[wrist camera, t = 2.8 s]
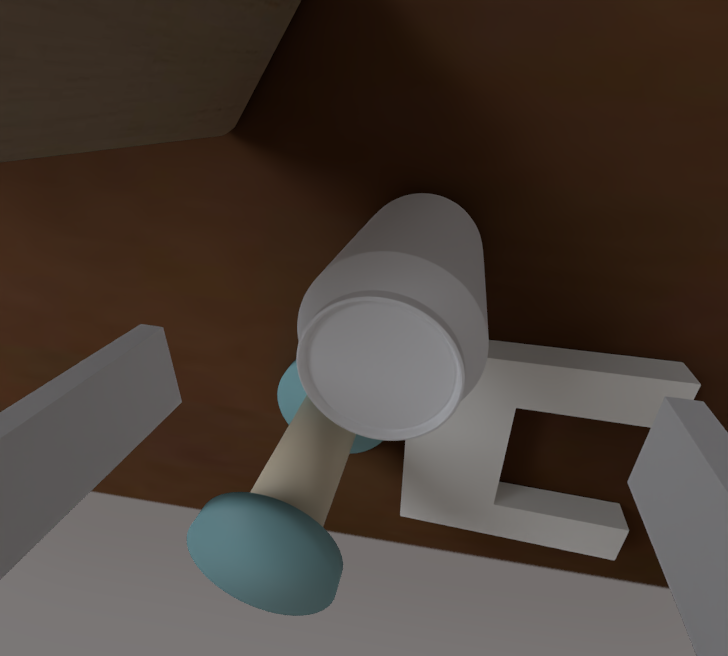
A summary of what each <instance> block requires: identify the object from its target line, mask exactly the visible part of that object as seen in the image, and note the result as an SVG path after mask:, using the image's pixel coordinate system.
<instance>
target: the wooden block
mask: <svg viewBox="0 0 728 656" xmlns="http://www.w3.org/2000/svg"><path fill="white" fill-rule="evenodd" d="M300 2H301V0H0V162H8V161H16V160H24V159H32V158H41V157H49V156H57V155H66V154H74V153H82V152H91V151H99V150H107V149H116V148H124V147H132V146H141V145H149V144H157V143H166V142H174V141H182V140H190V139H199V138H207V137H215V136H224V135H225V134H226V133H228V132H229V131H231V130H232V129H233V128H235V126H236V124H237V122H238V120H239V118H240V117H241V115H242V113H243V111H244V109H245V107H246V105H247V103H248V101H249V99H250V97H251V96H252V94H253V92H254V90H255V88H256V86H257V84H258V82H259V80H260V78H261V76H262V74H263V73H264V71H265V69H266V67H267V65H268V63H269V61H270V59H271V57H272V55H273V53H274V52H275V50H276V48H277V46H278V44H279V42H280V40H281V38H282V36H283V34H284V32H285V31H286V29H287V27H288V25H289V23H290V21H291V19H292V17H293V15H294V13H295V11H296V10H297V8H298V6H299V4H300Z"/></svg>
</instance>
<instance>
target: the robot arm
mask: <svg viewBox="0 0 728 656" xmlns="http://www.w3.org/2000/svg"><path fill="white" fill-rule="evenodd" d="M181 402H182V400H181V396H180V392H179V388H178V384H177V380H176V377H175V373H174V369H173V365H172V361H171V357H170V353H169V349H168V345H167V341H166V337H165V333H164V329H163V327H158V326H151V325H143V324H140V325H139V326H137V327H135V328H134V329H132V330H131V331H129V332H127V333H126V334H124V335H123V336H121V337H120V338H118V339H116V340H115V341H113V342H112V343H110V344H108V345H107V346H105V347H104V348H102V349H100V350H99V351H97V352H96V353H94V354H93V355H91V356H89V357H88V358H86V359H85V360H83V361H81V362H80V363H78V364H77V365H75V366H73V367H72V368H70V369H69V370H67V371H65V372H64V373H62V374H61V375H59V376H58V377H56V378H54V379H53V380H51V381H50V382H48V383H46V384H45V385H43V386H42V387H40V388H38V389H37V390H35V391H34V392H32V393H31V394H29V395H27V396H26V397H24V398H23V399H21V400H19V401H18V402H16V403H15V404H13V405H11V406H10V407H8V408H7V409H5V410H3V411H2V412H0V579H1V578H2V577H3V576H5V575H6V573H8V572H9V571H10V570H11V569H12V568H13V567H14V566H15V565H16V564H17V563H18V562H19V561H20V560H21V559H22V558H23V557H24V556H25V555H26V554H27V553H28V552H29V551H30V550H31V549H32V548H33V547H34V546H35V545H36V544H37V543H38V542H39V541H40V540H41V539H42V538H43V537H44V536H45V535H46V534H47V533H48V532H50V530H51V529H53V528H54V527H55V526H56V525H57V524H58V523H59V522H60V521H61V520H62V519H63V518H64V517H65V516H66V515H67V514H68V513H69V512H70V511H71V510H72V509H73V508H74V507H75V506H76V505H77V504H78V503H79V502H80V501H81V500H82V499H83V498H84V497H85V496H86V495H87V494H88V493H89V492H90V491H91V490H92V489H93V488H95V487H96V486H97V485H98V484H99V483H100V482H101V481H102V480H103V479H104V478H105V477H106V476H107V475H108V474H109V473H110V472H111V471H112V470H113V469H114V468H115V467H116V466H117V465H118V464H119V463H120V462H121V461H122V460H123V459H124V458H125V457H126V456H127V455H128V454H129V453H130V452H131V451H132V450H133V449H134V448H135V447H136V446H137V445H138V444H140V443H141V442H142V441H143V440H144V439H145V438H146V437H147V436H148V435H149V434H150V433H151V432H152V431H153V430H154V429H155V428H156V427H157V426H158V425H159V424H160V423H161V422H162V421H163V420H164V419H165V418H166V417H167V416H168V415H169V414H170V413H171V412H172V411H173V410H174V409H175V408H176V407H177V406H178V405H179V404H180V403H181ZM627 483H628V485H629V488H630V490H631V493H632V495H633V498H634V500H635V503H636V505H637V508H638V510H639V513H640V515H641V518H642V520H643V523H644V525H645V528H646V530H647V533H648V535H649V538H650V540H651V543H652V545H653V548H654V550H655V553H656V555H657V558H658V560H659V563H660V565H661V568H662V570H663V573H664V575H665V578H666V580H667V583H668V585H669V588H670V590H671V593H672V595H673V598H674V600H675V603H676V605H677V608H678V610H679V613H680V615H681V618H682V620H683V623H684V626H685V628H686V630H687V633H688V636H689V638H690V641H691V643H692V646H693V648H694V650H695V653H696V656H728V433H727V431H726V430H725V429H724V427H723V426H722V425H721V424H720V422H719V421H718V420H717V418H716V417H715V416H714V414H713V413H712V412H711V411H710V409H709V408H708V407H707V405H706V404H705V403H704V402H703V401H696V400H689V399H682V398H674V397H667V396H665V397H664V399H663V402H662V404H661V406H660V408H659V411H658V413H657V415H656V418H655V420H654V422H653V424H652V427H651V429H650V431H649V434H648V436H647V438H646V440H645V443H644V445H643V447H642V450H641V452H640V454H639V456H638V459H637V461H636V463H635V465H634V468H633V470H632V472H631V475H630V477H629V479H628V481H627Z"/></svg>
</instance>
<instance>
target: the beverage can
mask: <svg viewBox="0 0 728 656" xmlns="http://www.w3.org/2000/svg"><path fill="white" fill-rule="evenodd" d="M297 333H298V341H299V343H298V347H297V356H296V362H297V370H298V375H299V378H300V381H301V384H302V386H303V388H304V390H305V392H306V394H307V395H308V397H309V398H310V400H311V401H312V402H313V404H314V405H315V406H316V407H317V408H318V409H319V410H320V411H321V412H322V413H323V414H324V415H325V416H326V417H327V418H329V419H330V420H331V421H333V422H334V423H335V424H337V425H339V426H340V427H342V428H344V429H346V430H348V431H350V432H352V433H355V434H358V435H360V436H364V437H367V438H371V439H377V440H386V441H399V440H408V439H413V438H417V437H420V436H423V435H426V434H428V433H430V432H432V431H434V430H435V429H437V428H439V427H440V426H441V425H443V424H444V423H445V422H446V421H447V420H448V419H449V418H450V417H451V416H452V415H453V413H454V412H455V411H456V409H457V407H458V406H459V404H460V402H461V401H462V400H463V399H464V398H465V397H466V396H467V395H468V394H469V393H470V392H471V391H472V390H473V388H474V387H475V386H476V384H477V383H478V381H479V379H480V378H481V376H482V373H483V371H484V368H485V365H486V362H487V357H488V349H489V336H488V319H487V303H486V286H485V271H484V256H483V246H482V241H481V237H480V233H479V231H478V228H477V226H476V224H475V223H474V221H473V220H472V218H471V217H470V216H469V214H468V213H467V212H466V211H465V210H464V209H463V208H462V207H460V206H459V205H458V204H456V203H455V202H453V201H451V200H449V199H447V198H445V197H442V196H439V195H435V194H429V193H416V194H410V195H406V196H402V197H400V198H397V199H395V200H393V201H391V202H390V203H388V204H387V205H385V206H384V207H383V208H381V209H380V210H379V211H378V212H377V213H376V214H375V215H374V216H373V217H372V218H371V219H370V220H369V221H368V222H367V224H366V225H365V226H364V227H363V228H362V229H361V230H360V231H359V232H358V233H357V234H356V235H355V237H354V238H353V239H352V240H351V241H350V242H349V243H348V244H347V245H346V246H345V247H344V249H343V250H342V251H341V252H340V253H339V254H338V255H337V256H336V257H335V258H334V259H333V261H332V262H331V263H330V264H329V265H328V266H327V267H326V268H325V269H324V270H323V271H322V273H321V274H320V275H319V276H318V277H317V278H316V279H315V280H314V282H313V283H312V284H311V286H310V287H309V289H308V290H307V292H306V294H305V296H304V298H303V300H302V303H301V306H300V310H299V314H298V323H297Z"/></svg>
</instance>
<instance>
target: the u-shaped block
mask: <svg viewBox="0 0 728 656" xmlns="http://www.w3.org/2000/svg"><path fill="white" fill-rule="evenodd" d="M700 386H701V384H700V383H699V381H698V380H697V379H696V378H695V376H694V375H693V374H692V373H691V372H690V370H689V369H688V368H687V367H686V365H685V364H684V363H683V362H676V361H667V360H659V359H650V358H642V357H633V356H624V355H616V354H607V353H599V352H590V351H581V350H573V349H564V348H556V347H547V346H538V345H530V344H521V343H513V342H504V341H495V340H489V349H488V357H487V362H486V365H485V368H484V371H483V373H482V376H481V378H480V379H479V381H478V383H477V384H476V386H475V387H474V388H473V390H472V391H471V392H470V393H469V394H468V395H467V396H466V397H465V398H464V399H463V400H462V401H461V402H460V404H459V406H458V407H457V409H456V411H455V412H454V413H453V415H452V416H451V417H450V418H449V419H448V420H447V421H446V422H445V423H444V424H443V425H441V426H440V427H439V428H437V429H435V430H434V431H432V432H430V433H428V434H426V435H423V436H420V437H417V438H413V439H408V440H405V452H404V466H403V481H402V495H401V509H400V516H403V517H408V518H413V519H418V520H423V521H427V522H432V523H437V524H442V525H447V526H451V527H456V528H461V529H466V530H471V531H475V532H480V533H485V534H490V535H495V536H499V537H504V538H509V539H514V540H519V541H523V542H528V543H533V544H538V545H543V546H547V547H552V548H557V549H562V550H567V551H571V552H576V553H581V554H586V555H591V556H595V557H600V558H605V559H610V560H614V561H615V559H616V557H617V555H618V553H619V551H620V549H621V547H622V545H623V543H624V541H625V539H626V536H627V534H628V532H629V529H628V526H627V523H626V520H625V518H624V515H623V512H622V509H621V507H620V504H619V503H614V502H608V501H603V500H597V499H592V498H586V497H581V496H575V495H570V494H564V493H559V492H553V491H548V490H542V489H537V488H531V487H526V486H521V485H515V484H510V483H504V482H499V479H500V475H501V470H502V466H503V462H504V457H505V453H506V449H507V445H508V440H509V436H510V432H511V427H512V423H513V419H514V414H515V410H516V408H520V409H527V410H534V411H541V412H548V413H554V414H561V415H568V416H575V417H582V418H588V419H595V420H602V421H609V422H616V423H623V424H629V425H636V426H643V427H650V428H651V427H652V424H653V422H654V420H655V418H656V415H657V413H658V411H659V408H660V406H661V404H662V402H663V399H664V397H665V396H667V397H674V398H682V399H689V400H694V398H695V396H696V394H697V392H698V390H699V388H700Z"/></svg>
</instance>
